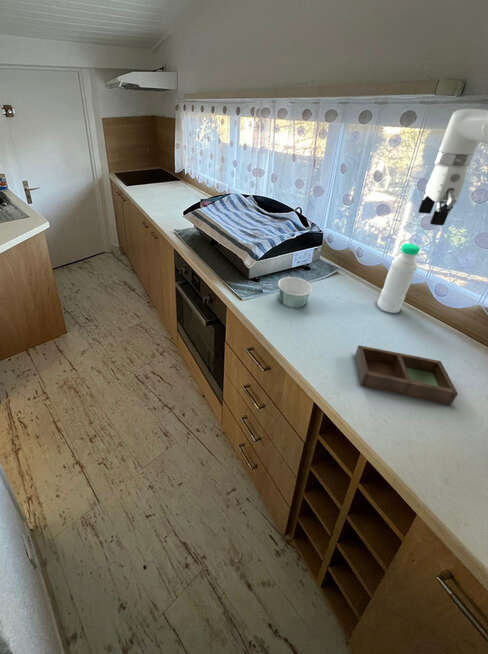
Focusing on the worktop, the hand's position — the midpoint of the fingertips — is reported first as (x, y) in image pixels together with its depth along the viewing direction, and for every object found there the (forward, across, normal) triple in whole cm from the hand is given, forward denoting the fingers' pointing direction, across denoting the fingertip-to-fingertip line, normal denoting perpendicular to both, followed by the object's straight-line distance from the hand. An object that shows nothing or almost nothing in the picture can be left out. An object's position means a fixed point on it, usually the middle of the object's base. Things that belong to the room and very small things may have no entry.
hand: (430, 218), depth 91 cm
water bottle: (+36, +2, +1) cm, 36 cm away
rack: (+35, -32, +7) cm, 48 cm away
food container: (+36, -2, +34) cm, 49 cm away
